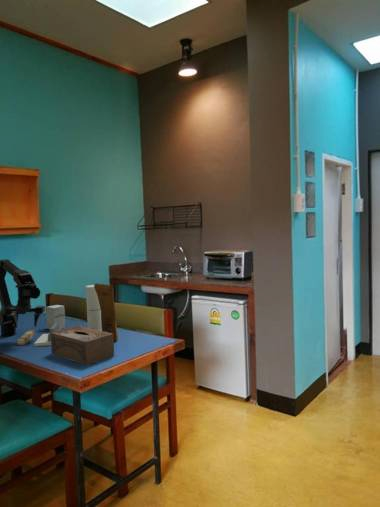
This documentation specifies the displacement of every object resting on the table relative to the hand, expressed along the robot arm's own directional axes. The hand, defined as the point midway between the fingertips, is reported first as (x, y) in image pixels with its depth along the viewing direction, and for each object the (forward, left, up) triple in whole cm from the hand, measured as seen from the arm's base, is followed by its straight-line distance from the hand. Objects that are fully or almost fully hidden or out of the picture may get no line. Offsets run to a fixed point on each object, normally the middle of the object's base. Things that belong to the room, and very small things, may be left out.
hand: (25, 327), depth 202 cm
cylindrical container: (+33, +8, -7) cm, 35 cm away
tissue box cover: (+33, -29, -7) cm, 44 cm away
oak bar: (0, 0, -7) cm, 7 cm away
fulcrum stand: (+15, -4, -7) cm, 17 cm away
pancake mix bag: (+42, -6, -7) cm, 43 cm away
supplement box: (+10, +21, -7) cm, 24 cm away
